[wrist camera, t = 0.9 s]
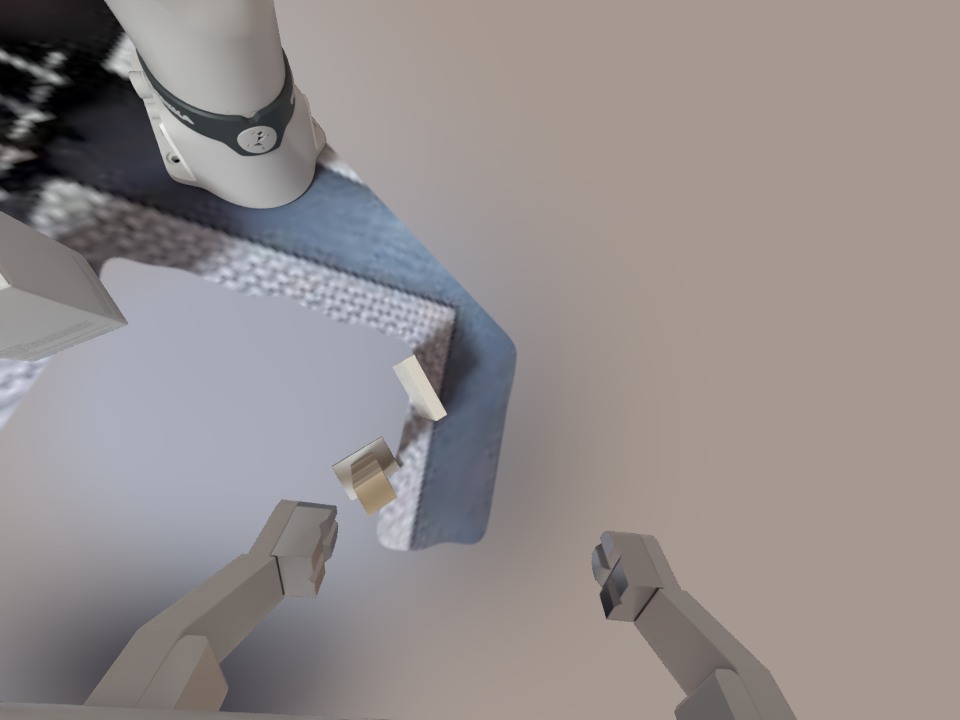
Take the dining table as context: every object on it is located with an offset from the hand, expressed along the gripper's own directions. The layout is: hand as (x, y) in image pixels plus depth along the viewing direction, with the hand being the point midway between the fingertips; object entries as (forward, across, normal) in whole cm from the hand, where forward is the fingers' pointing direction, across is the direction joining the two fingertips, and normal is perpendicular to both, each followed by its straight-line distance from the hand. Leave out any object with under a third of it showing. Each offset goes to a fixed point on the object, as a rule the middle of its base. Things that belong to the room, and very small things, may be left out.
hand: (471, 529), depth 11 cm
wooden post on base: (+27, +10, +27) cm, 40 cm away
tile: (+35, +6, +19) cm, 40 cm away
